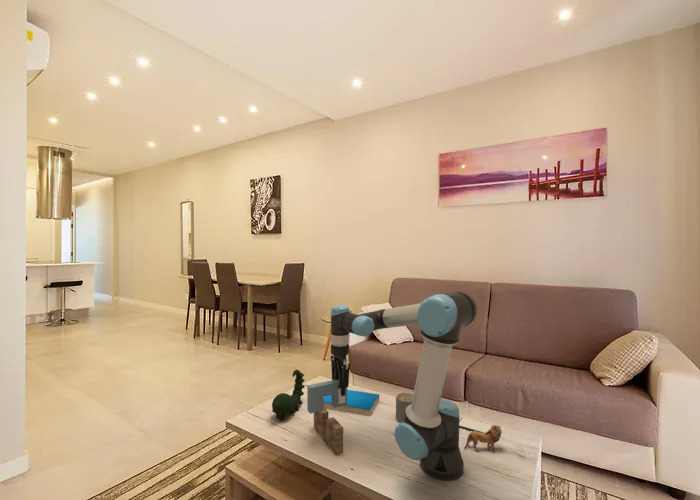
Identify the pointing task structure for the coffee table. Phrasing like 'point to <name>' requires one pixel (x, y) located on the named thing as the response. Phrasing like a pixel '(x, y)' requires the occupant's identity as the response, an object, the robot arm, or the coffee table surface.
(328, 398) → the book
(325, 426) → the walnut board
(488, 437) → the lion figurine
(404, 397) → the coffee mug
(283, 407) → the toy figurine
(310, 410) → the slate plate
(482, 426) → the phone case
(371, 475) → the coffee table surface
